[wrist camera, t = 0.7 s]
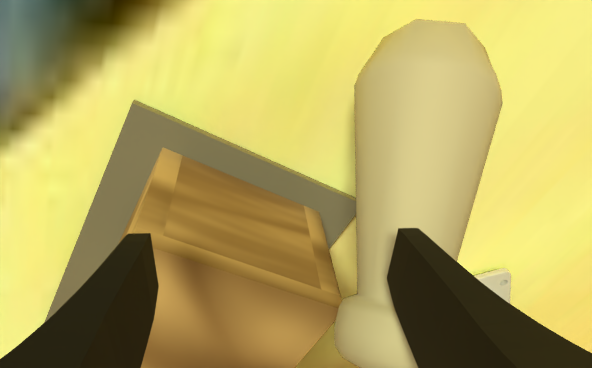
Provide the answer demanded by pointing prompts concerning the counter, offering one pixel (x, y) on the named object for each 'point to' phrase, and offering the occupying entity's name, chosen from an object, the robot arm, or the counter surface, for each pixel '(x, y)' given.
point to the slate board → (197, 146)
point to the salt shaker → (413, 167)
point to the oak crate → (232, 270)
